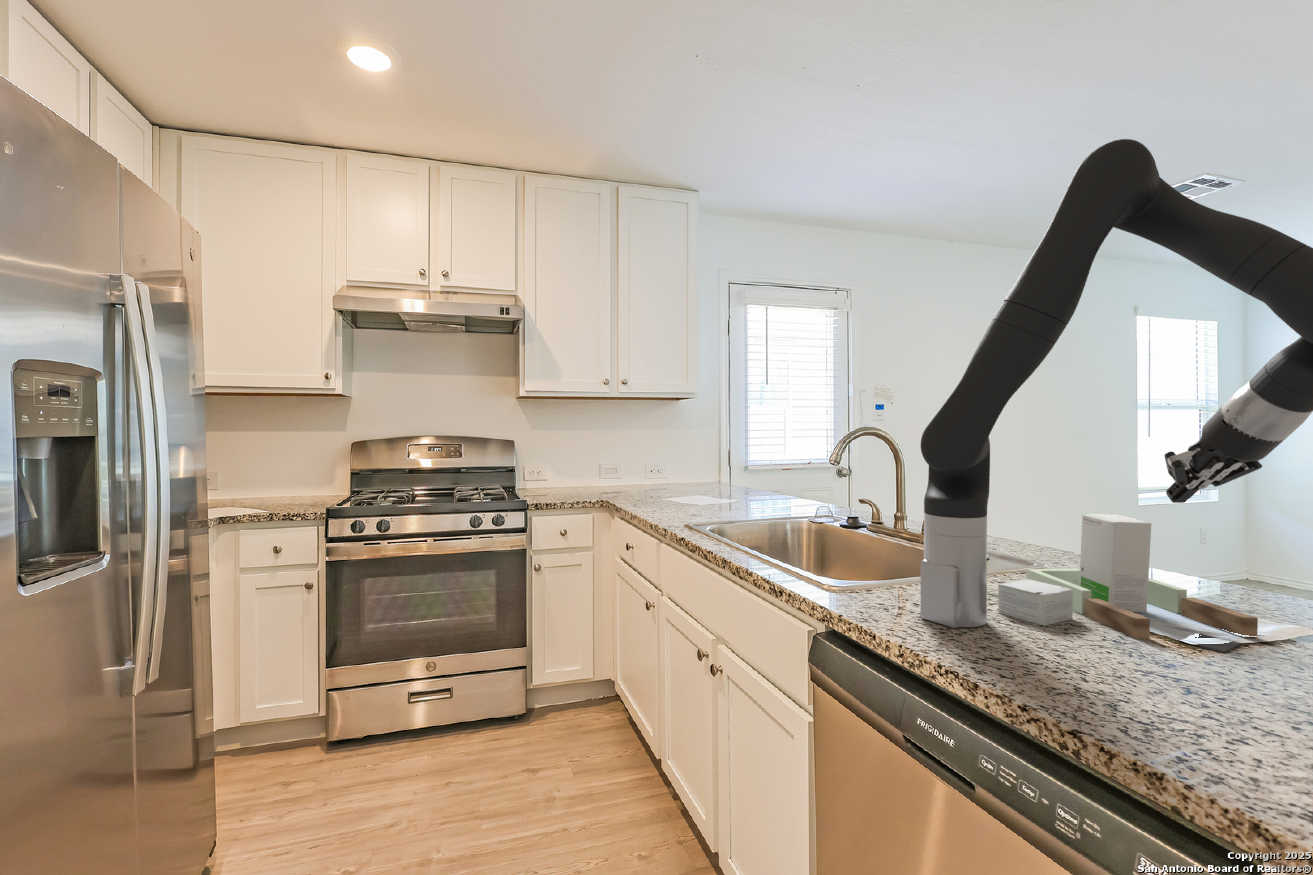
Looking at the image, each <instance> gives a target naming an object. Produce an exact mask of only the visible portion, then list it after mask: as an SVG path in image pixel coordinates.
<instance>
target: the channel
mask: <svg viewBox="0 0 1313 875" xmlns="http://www.w3.org/2000/svg"><path fill="white" fill-rule="evenodd" d="M1181 616H1182V617H1184V616H1185V617H1184V618H1187V617H1188V618H1187V619H1189V618H1190V619H1189V620H1192V619H1193V621H1195V622H1198V621H1199V622H1198V623H1200V622H1201V624H1203V625H1207V626H1209V625H1211V626H1210V627H1212V626H1213V627H1212V628H1214V627H1216V628H1215V629H1217V628H1219V629H1218V630H1220V629H1224V630H1227V631H1229V632H1233V633H1238V634H1241V635H1249V636H1257V637H1258V629H1259V628H1258V626H1259V625H1258V622H1259V620H1258V619H1259V617H1256V616H1254V615H1251V614H1247V613H1244V612H1240V611H1238V610H1233V609H1232V608H1228V607H1225V606H1221V605H1219V604H1216V603H1212V602H1209V601H1207V600H1203V599H1199V598H1197V597H1187V598H1182V614H1181ZM1084 617H1085V618H1088V619H1089V620H1093V621H1095V622H1096V623H1099V624H1101V625H1104V626H1106V627H1107V628H1110V629H1113V630H1114V631H1117V632H1118V633H1122V634H1123V635H1126V636H1127V637H1128V636H1129V637H1131V638H1132V639H1135V640H1150V639H1151V635H1150V634H1151V632H1150V631H1151V618H1149V617H1146V616H1144V615H1141V614H1138V613H1134V612H1131V611H1129V610H1126V609H1124V608H1121V607H1118V606H1116V605H1113V604H1111V603H1108V602H1106V601H1103V600H1100V599H1098V598H1085V614H1084Z"/></svg>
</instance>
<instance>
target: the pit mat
mask: <svg viewBox="0 0 1313 875" xmlns="http://www.w3.org/2000/svg"><path fill="white" fill-rule="evenodd" d="M1200 635H1201V636H1200ZM1195 638H1197V637H1195ZM1198 638H1218V637H1217V636H1213V635H1208V634H1203V633H1200V634H1199V637H1198ZM1231 641H1232V642H1229V643H1224V644H1198V646H1199V647H1198V648H1202V649H1206V650H1209V651H1214V652H1217V653H1223V654H1226V653H1227V652H1229V651H1232V650H1233V649H1236V648H1237V647H1239V646H1241V642H1239V641H1234V640H1231Z"/></svg>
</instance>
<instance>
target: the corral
mask: <svg viewBox="0 0 1313 875" xmlns="http://www.w3.org/2000/svg"><path fill="white" fill-rule="evenodd" d="M1025 571H1026V577H1025V578H1026V579H1029V580H1034V581H1038V582H1042V583H1047V584H1051V585H1056V586H1061V587H1065V588H1069V589H1071V590H1072V595H1073V596H1072V612H1076V613H1078V614H1079V615H1085V598H1091V590H1088V589H1086V588H1083V587H1080V586H1079V578H1080V568H1026V570H1025ZM1187 591H1188V590H1187V589H1185V588H1182V587H1179V586H1176V585H1172V584H1169V583H1167V582H1166V583H1165V582H1163V581H1160V580H1156V579H1153V578H1149V577H1148V595H1147V604H1150V605H1152V606H1156V607H1157V606H1158V608H1159V609H1163V608H1164V609H1163V610H1166V609H1167V610H1166V611H1169V612H1171V611H1172V613H1174V612H1176V613H1175V614H1177V613H1182V598H1188V597H1187V596H1188V593H1187Z"/></svg>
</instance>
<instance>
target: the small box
mask: <svg viewBox="0 0 1313 875" xmlns="http://www.w3.org/2000/svg"><path fill="white" fill-rule="evenodd" d="M1072 596H1073V595H1072V590H1071V589H1069V588H1065V587H1061V586H1056V585H1051V584H1047V583H1042V582H1038V581H1034V580H1029V579H1022V580H1021V579H1020V580H1017V581H1011V582H1005V583H998V608H997V609H998V611H997V612H998V614H999V613H1000V614H1003V615H1005V616H1009V617H1013V618H1016V619H1018V620H1022V621H1027V622H1029V623H1032V624H1036V625H1040V626H1047V625H1048V626H1049V625H1052V624H1056V623H1060V622H1065V621H1068V620H1070V621H1071V620H1073V610H1072Z"/></svg>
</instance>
